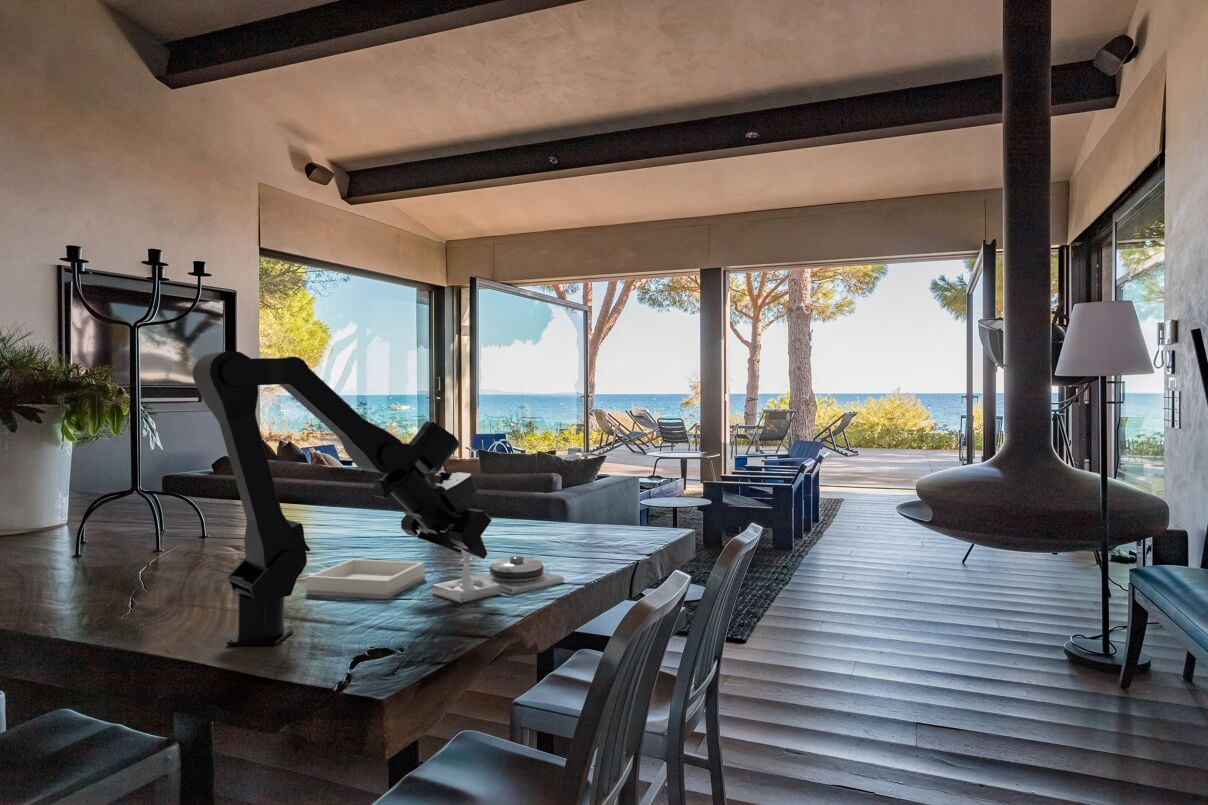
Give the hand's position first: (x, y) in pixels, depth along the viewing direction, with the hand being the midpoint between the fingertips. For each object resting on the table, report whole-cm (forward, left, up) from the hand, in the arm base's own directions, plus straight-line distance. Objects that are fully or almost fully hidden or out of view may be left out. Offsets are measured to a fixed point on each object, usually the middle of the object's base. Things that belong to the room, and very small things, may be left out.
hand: (473, 553), depth 126 cm
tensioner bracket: (+4, -4, -7) cm, 8 cm away
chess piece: (-1, +1, -7) cm, 7 cm away
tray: (+4, +19, -7) cm, 20 cm away
